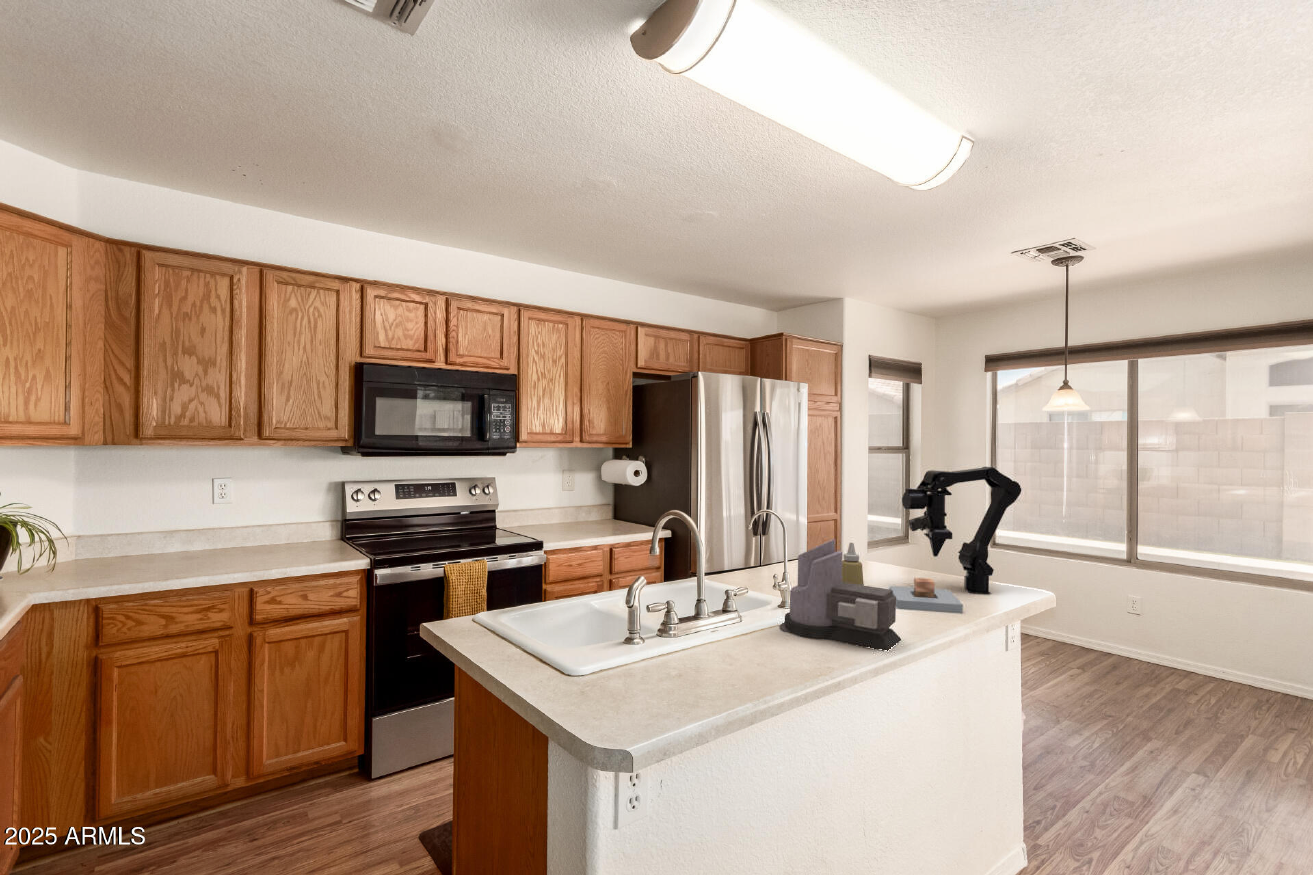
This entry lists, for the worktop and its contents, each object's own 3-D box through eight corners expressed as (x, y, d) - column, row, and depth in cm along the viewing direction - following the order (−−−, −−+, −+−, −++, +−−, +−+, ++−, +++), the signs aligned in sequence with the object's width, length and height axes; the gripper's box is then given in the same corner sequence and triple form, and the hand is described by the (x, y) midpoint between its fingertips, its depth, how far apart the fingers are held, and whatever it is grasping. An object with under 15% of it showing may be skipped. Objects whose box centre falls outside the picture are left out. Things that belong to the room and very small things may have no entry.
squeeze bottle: (846, 596, 204) (847, 539, 203) (869, 601, 197) (870, 543, 197) (831, 600, 199) (832, 542, 198) (854, 605, 192) (855, 546, 192)
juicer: (769, 630, 168) (771, 537, 168) (794, 616, 181) (795, 530, 181) (886, 655, 151) (888, 551, 150) (904, 637, 164) (906, 542, 163)
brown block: (930, 598, 199) (931, 578, 199) (934, 602, 194) (934, 582, 194) (913, 596, 200) (914, 577, 200) (916, 600, 195) (917, 581, 195)
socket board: (948, 597, 204) (949, 589, 204) (962, 613, 186) (962, 604, 186) (889, 593, 208) (889, 585, 208) (897, 608, 190) (897, 600, 190)
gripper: (904, 504, 221) (904, 550, 221) (915, 512, 202) (914, 561, 203) (938, 505, 219) (938, 551, 219) (953, 512, 200) (952, 562, 201)
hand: (935, 556), depth 210 cm, fingers closed
